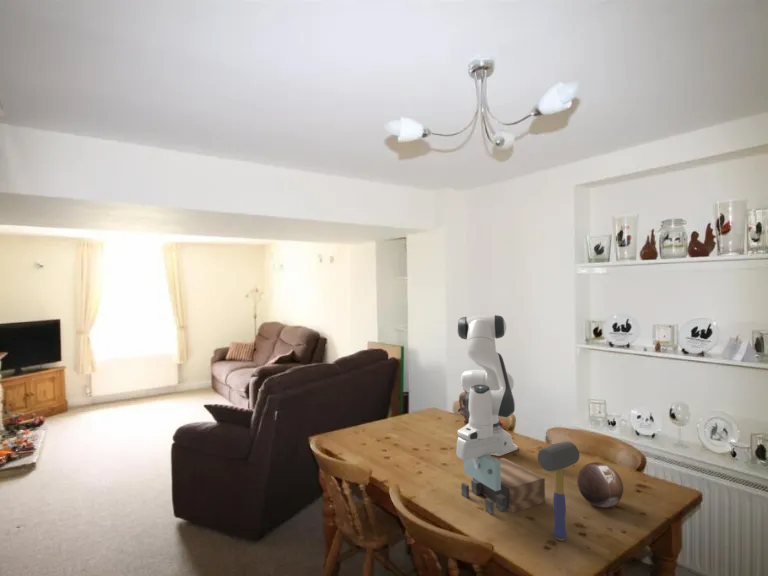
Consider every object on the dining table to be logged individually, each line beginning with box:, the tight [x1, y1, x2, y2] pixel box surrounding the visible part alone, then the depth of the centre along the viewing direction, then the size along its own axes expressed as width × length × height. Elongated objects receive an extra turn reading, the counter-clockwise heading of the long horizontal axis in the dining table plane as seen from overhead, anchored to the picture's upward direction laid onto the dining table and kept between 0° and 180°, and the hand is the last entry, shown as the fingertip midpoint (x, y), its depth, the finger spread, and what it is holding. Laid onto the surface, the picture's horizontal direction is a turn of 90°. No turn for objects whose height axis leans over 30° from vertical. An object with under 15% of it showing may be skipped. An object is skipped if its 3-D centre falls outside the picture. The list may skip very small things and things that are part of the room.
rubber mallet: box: [537, 441, 580, 541], centre depth 138 cm, size 12×8×30 cm, turn 120°
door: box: [463, 455, 501, 491], centre depth 161 cm, size 3×18×10 cm, turn 27°
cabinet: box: [461, 457, 546, 516], centre depth 166 cm, size 24×22×9 cm
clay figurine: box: [457, 388, 470, 424], centre depth 259 cm, size 13×10×25 cm
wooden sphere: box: [576, 461, 624, 508], centre depth 159 cm, size 15×15×15 cm
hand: (481, 466), depth 162 cm, fingers closed on door, 2 cm apart
